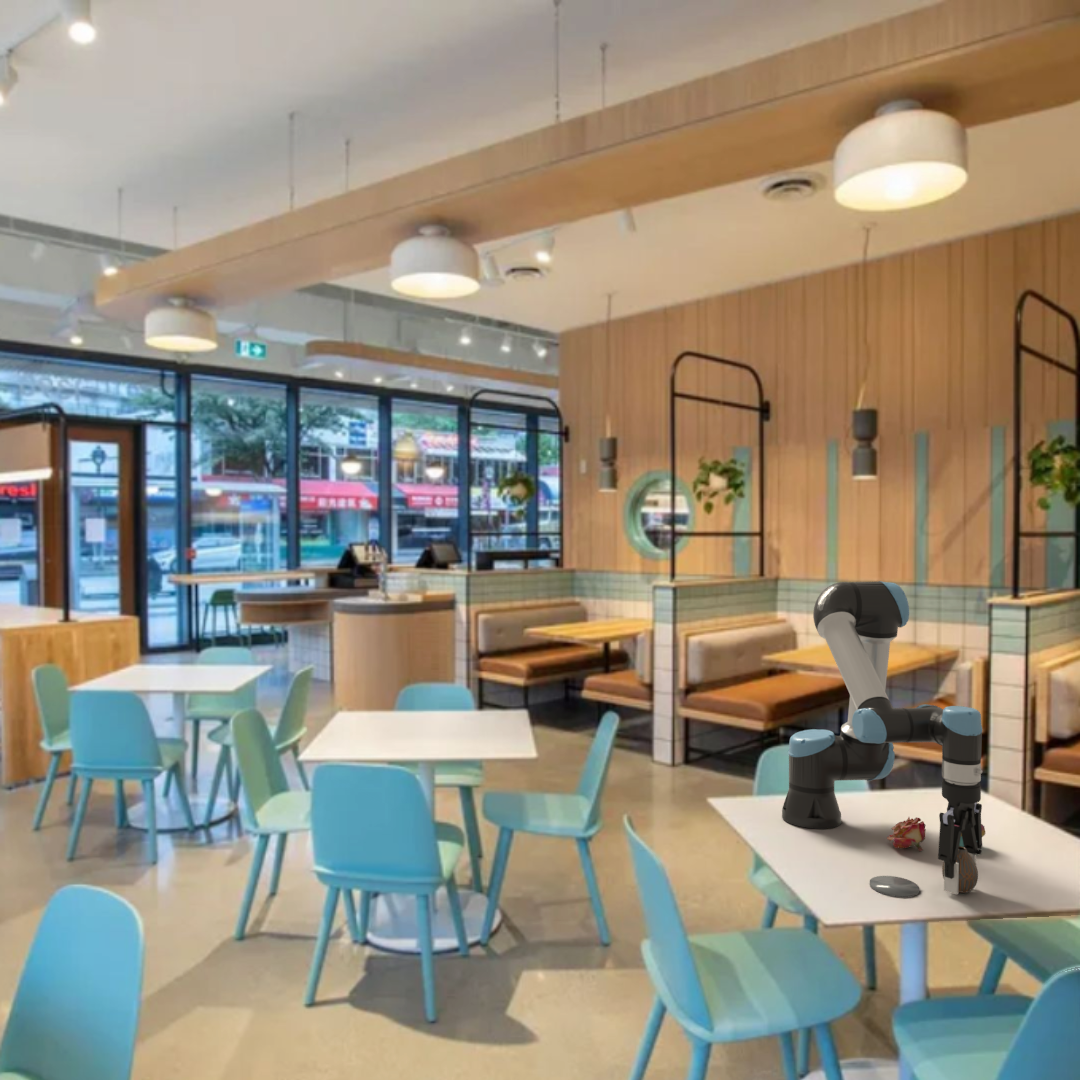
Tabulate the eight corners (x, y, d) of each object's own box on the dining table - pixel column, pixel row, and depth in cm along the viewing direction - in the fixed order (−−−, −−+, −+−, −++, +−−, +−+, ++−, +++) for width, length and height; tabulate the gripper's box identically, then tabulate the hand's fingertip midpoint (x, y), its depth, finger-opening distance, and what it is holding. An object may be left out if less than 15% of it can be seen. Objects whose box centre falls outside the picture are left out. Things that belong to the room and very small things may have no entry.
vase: (935, 882, 191) (936, 842, 191) (966, 881, 192) (966, 841, 192) (953, 896, 184) (953, 854, 184) (984, 895, 185) (985, 853, 185)
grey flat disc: (860, 885, 191) (860, 883, 191) (885, 874, 197) (885, 872, 197) (903, 901, 183) (903, 898, 183) (928, 889, 189) (928, 886, 189)
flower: (937, 840, 214) (917, 810, 217) (937, 844, 206) (916, 813, 209) (902, 859, 217) (882, 828, 220) (900, 864, 209) (880, 832, 212)
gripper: (955, 793, 179) (953, 905, 179) (1001, 776, 191) (1000, 881, 191) (920, 784, 185) (918, 893, 185) (966, 768, 197) (965, 871, 197)
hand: (960, 887), depth 188 cm, fingers closed on vase, 7 cm apart
